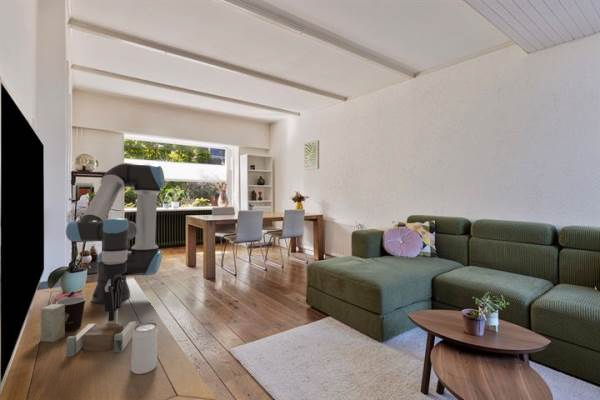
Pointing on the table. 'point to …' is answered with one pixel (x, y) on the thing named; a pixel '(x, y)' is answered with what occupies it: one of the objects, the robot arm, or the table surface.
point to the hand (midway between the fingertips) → (112, 328)
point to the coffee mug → (73, 312)
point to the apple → (67, 296)
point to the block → (102, 337)
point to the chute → (78, 341)
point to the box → (52, 322)
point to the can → (144, 348)
